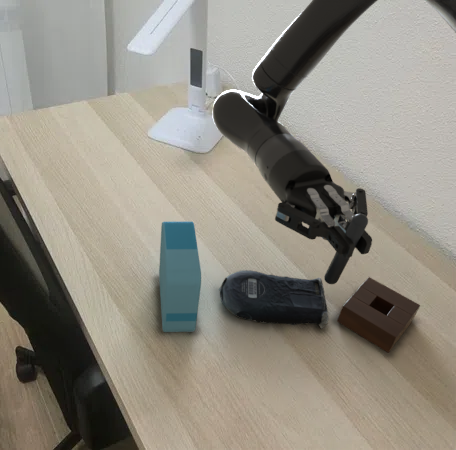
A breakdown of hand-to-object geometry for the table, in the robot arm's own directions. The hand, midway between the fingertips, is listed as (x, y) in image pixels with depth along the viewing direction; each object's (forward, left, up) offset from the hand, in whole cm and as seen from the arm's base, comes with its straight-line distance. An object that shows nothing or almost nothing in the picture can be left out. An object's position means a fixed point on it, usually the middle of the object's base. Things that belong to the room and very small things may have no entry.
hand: (359, 250), depth 67 cm
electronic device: (0, -9, -18) cm, 20 cm away
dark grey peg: (-1, -3, -9) cm, 9 cm away
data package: (+10, -19, -18) cm, 28 cm away
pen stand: (-8, +4, -17) cm, 19 cm away
